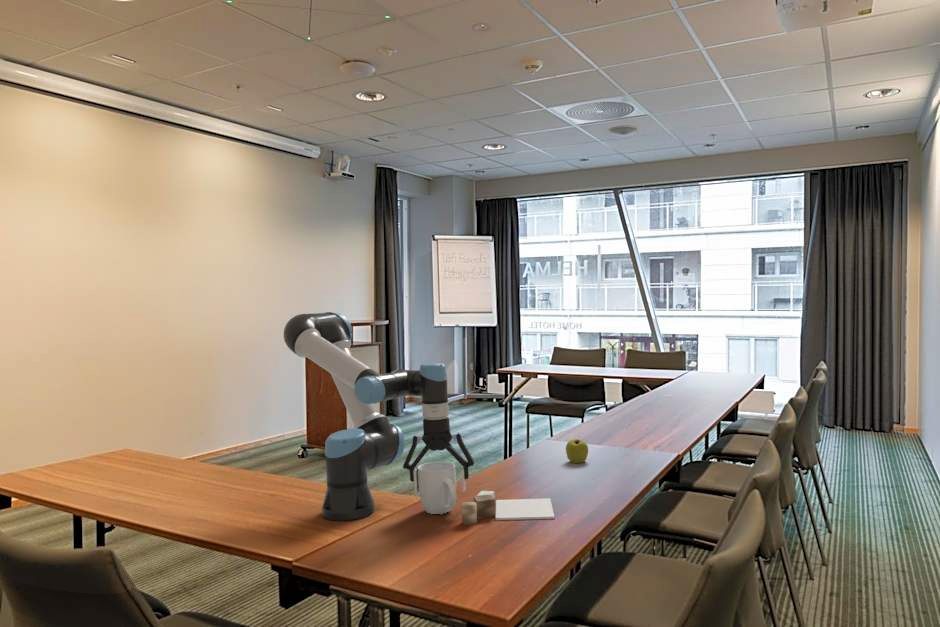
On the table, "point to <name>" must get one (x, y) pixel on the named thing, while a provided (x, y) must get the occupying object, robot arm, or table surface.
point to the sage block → (487, 493)
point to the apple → (577, 450)
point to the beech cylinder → (469, 513)
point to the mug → (437, 486)
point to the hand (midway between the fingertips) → (440, 491)
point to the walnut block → (485, 506)
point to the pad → (524, 509)
